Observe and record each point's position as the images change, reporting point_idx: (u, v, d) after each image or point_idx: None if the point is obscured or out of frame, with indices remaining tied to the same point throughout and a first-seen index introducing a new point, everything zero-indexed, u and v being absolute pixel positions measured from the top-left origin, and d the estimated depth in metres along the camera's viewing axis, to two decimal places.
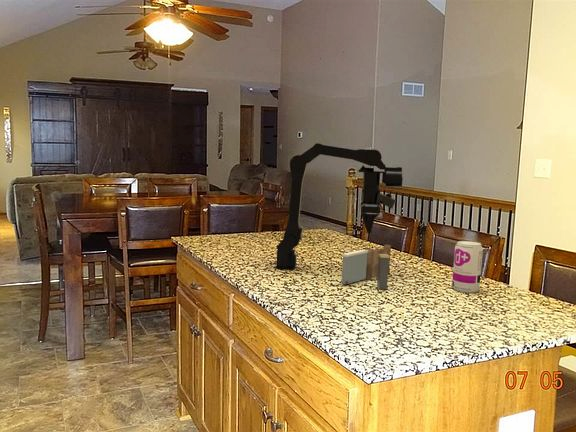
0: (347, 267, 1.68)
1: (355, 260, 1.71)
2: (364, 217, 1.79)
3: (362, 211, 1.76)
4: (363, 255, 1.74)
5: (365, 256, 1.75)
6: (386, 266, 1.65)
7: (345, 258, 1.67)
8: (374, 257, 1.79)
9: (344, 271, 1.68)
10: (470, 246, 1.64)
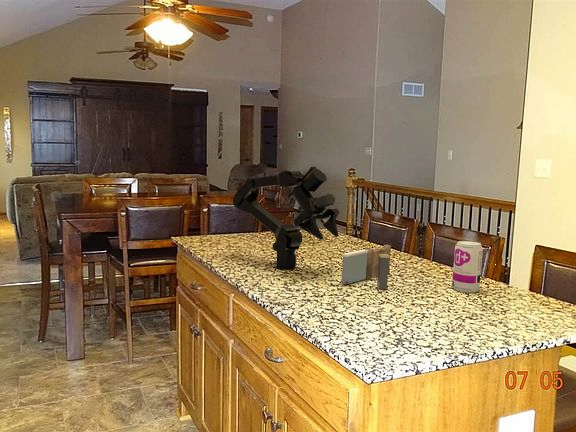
0: (347, 267, 1.68)
1: (355, 260, 1.71)
2: (306, 229, 1.75)
3: None
4: (363, 255, 1.74)
5: (365, 256, 1.75)
6: (386, 266, 1.65)
7: (345, 258, 1.67)
8: (374, 257, 1.79)
9: (344, 271, 1.68)
10: (470, 246, 1.64)
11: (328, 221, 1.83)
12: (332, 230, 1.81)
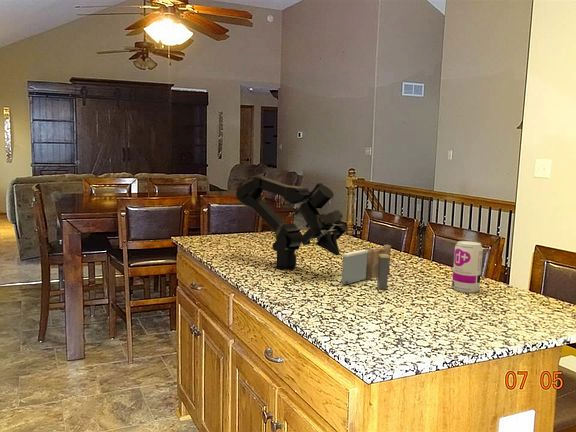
0: (347, 267, 1.68)
1: (355, 260, 1.71)
2: (322, 245, 1.76)
3: (303, 243, 1.72)
4: (363, 255, 1.74)
5: (365, 256, 1.75)
6: (386, 266, 1.65)
7: (345, 258, 1.67)
8: (374, 257, 1.79)
9: (344, 271, 1.68)
10: (470, 246, 1.64)
11: None
12: None
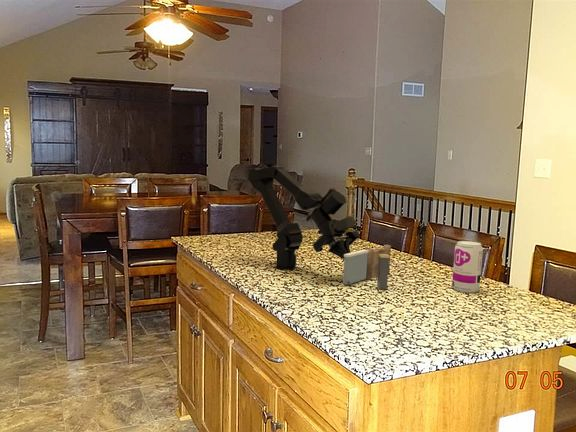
0: (348, 267, 1.67)
1: (356, 260, 1.71)
2: (334, 252, 1.73)
3: (315, 250, 1.69)
4: (364, 255, 1.74)
5: (365, 256, 1.75)
6: (386, 266, 1.65)
7: (347, 258, 1.67)
8: (374, 257, 1.79)
9: (346, 271, 1.68)
10: (470, 246, 1.64)
11: None
12: None
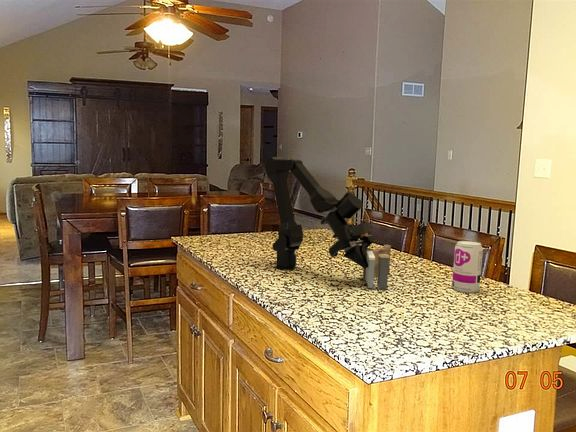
0: (373, 270, 1.65)
1: None
2: (349, 257, 1.69)
3: (331, 255, 1.65)
4: None
5: None
6: (386, 266, 1.65)
7: (373, 261, 1.64)
8: None
9: (371, 274, 1.65)
10: (470, 246, 1.64)
11: None
12: None
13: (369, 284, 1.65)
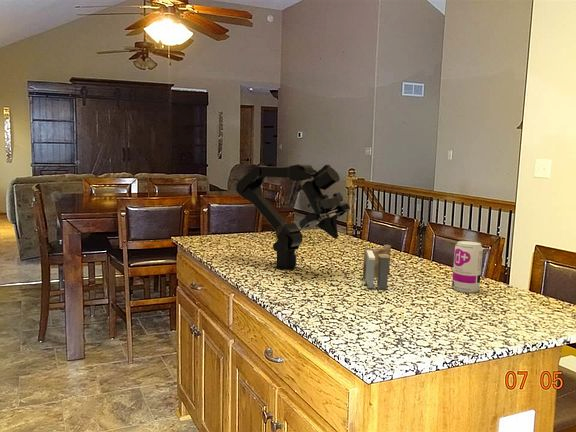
0: (373, 270, 1.65)
1: None
2: (321, 227, 1.79)
3: (301, 228, 1.76)
4: None
5: None
6: (386, 266, 1.65)
7: (373, 261, 1.64)
8: None
9: (371, 274, 1.65)
10: (470, 246, 1.64)
11: None
12: None
13: (369, 284, 1.65)
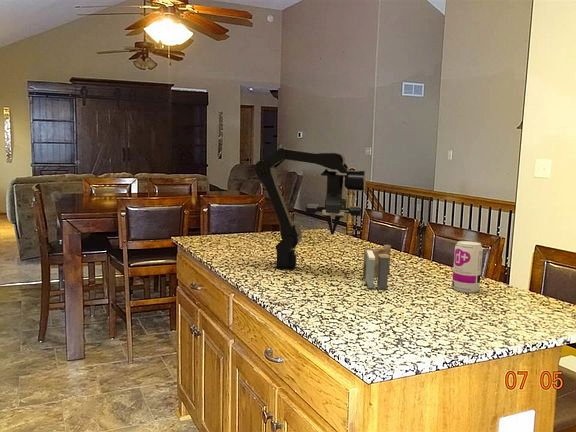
0: (373, 270, 1.65)
1: None
2: None
3: None
4: None
5: None
6: (386, 266, 1.65)
7: (373, 261, 1.64)
8: None
9: (371, 274, 1.65)
10: (470, 246, 1.64)
11: None
12: None
13: (369, 284, 1.65)
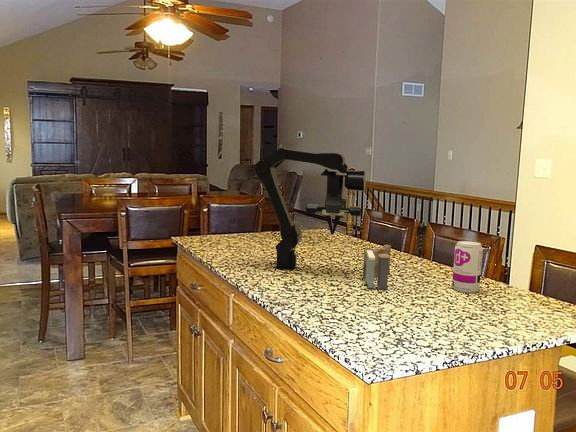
0: (373, 270, 1.65)
1: None
2: None
3: None
4: None
5: None
6: (386, 266, 1.65)
7: (373, 261, 1.64)
8: None
9: (371, 274, 1.65)
10: (470, 246, 1.64)
11: None
12: None
13: (369, 284, 1.65)
